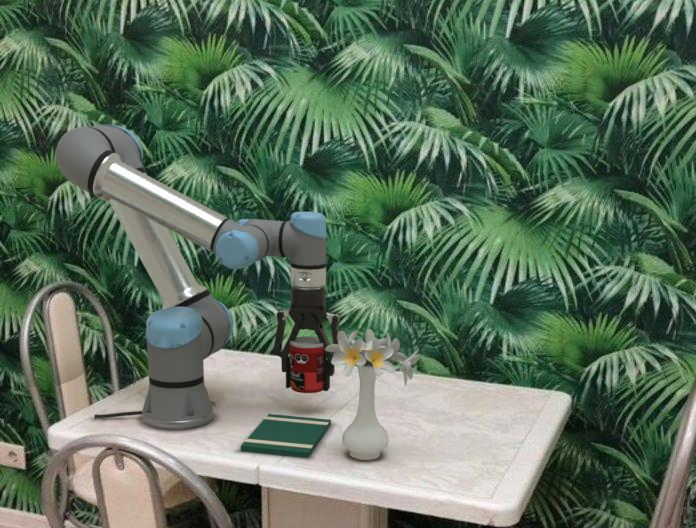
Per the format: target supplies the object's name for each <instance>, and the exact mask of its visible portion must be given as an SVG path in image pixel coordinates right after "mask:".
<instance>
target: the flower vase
mask: <svg viewBox="0 0 696 528" xmlns="http://www.w3.org/2000/svg"><path fill="white" fill-rule="evenodd" d="M358 333H359V331H358V330H354V331H352V332H351V333H350V335H349V336H348V337H347V334H346V332H345V331H343V330H340V332H339V333H338V335H337V341H338V344H339V345H338V344H333V343H332V344H330V345H329V346H327V347H326V348H325V351H328V352H334V355H333V357H332V360H331V363H332V364H333V365H335V366H343V365H344V367H343V375H344V376H345V377H346V378H348V377H350V376H351V375H352V373H353V371H354V368H355V366H356V368H357V372H358V377H359V393H358V394H359V396H358V406H357V411H356V415H355V417H354V419H353V421H352V422H351V424H349V425H348V426H347V427H346V429H345V430H344V431H343V433H342V435H341V443H342V444H343V446H344V448H345V449H346V450H348V451H349V455H350V457H351V458H352V459H355V460H360V461H372V460H376V459H378V458H380V456H381V452H383V451H384V450H385V449H386V448H387V446H388V445H389V443H390V439H389V438H390V437H389V434H388V432H387V430H386V429H385V428H384V426H382V424H381V423H380V422H379V419H378V416H377V414H376V413H377V412H376V404H375V401H376V400H375V397H376V396H375V394H376V392H375V391H376V389H375V387H376V380H377V377H380V376H381V375H382V372H383V370H385V371H386V372H387V373H390V374H395V372H396V368H395V366H394V365H393V364H392V363H391V362H393V363H397V364H400V366H401V369H402V373H403V381H404V387H406V386H407V383H408V378H409V380H412V379H413V377H414V368H413V367H412V366H414V365H415V364H417V362H418V361H419V359H420V358H421V353H418V352H419V348H417V349H416V350H415V351H414V352H412V354H411V355H410V356H408V357H407V356H406V355H405V354H404V353H402V352H400V351H399V350H400V347H401V344H400V340H399V339H398V338H397V337H394V339H393V340H392V339H391V337H390V335H389V333H388V332H387V331H386V332H385V337H383V338H380V339H378V338H376V336H375V333H374V331H373V330H372V329H371V328H367V329H366V330H365V333H364V334H365V335H364V340H365V341H363V339H362V338H358V339H356V338H357V335H358ZM335 352H336V353H335Z"/></svg>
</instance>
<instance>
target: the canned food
mask: <svg viewBox="0 0 696 528" xmlns="http://www.w3.org/2000/svg"><path fill="white" fill-rule="evenodd" d="M289 356H290V386H291V387H290V389H291V390H292V391H293V392H295V393H300V394H316V393H321V392H324V362H325V361H326V360H327V358H326V356H325V353H324V346H323V343H320V341H319V339H318V336H309V335H308V336H307V335H306V336H297V338H296V339H295V340H294V341H290V353H289Z"/></svg>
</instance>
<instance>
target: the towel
mask: <svg viewBox="0 0 696 528" xmlns="http://www.w3.org/2000/svg"><path fill="white" fill-rule="evenodd" d="M331 425H332V420H331V419H330V418H329V419H327V418H318V417H307V416H295V415H288V414H287V415H286V414H285V415H284V414H273V413H268V414H267V415H266V416H265V417H264V418H263V420H262V421H261V422H260V423H259V424H258V425H257V427H256V428H255V429H254V430H253V431H252V432H251V433H250V435H248V437H247V438H245V439H244V440H243V443H242V444H241V445H240V452H247V453H256V454H267V455H276V456H285V457H296V458H306V459H309V458H310V456H311V455H312V453H313V452H314V451H315V450H316V447H318V445H319V443H320V441H321V440H322V439H323V437H324V435H325V434H326V433H327V431H328V430H329V428H330V426H331Z"/></svg>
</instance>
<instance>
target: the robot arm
mask: <svg viewBox="0 0 696 528" xmlns="http://www.w3.org/2000/svg"><path fill="white" fill-rule="evenodd" d="M55 160H56V164H57V167H58V170H59V171H60V172H61V174H62V176H63V177H64V178H65V179H66V180H67V181H69V182H70V183H71V184H73V185H74V186H76V187H78V188H80V189H81V190H82V191H85V192H86V193H88V194H91V195H92V196H95V197H97V198H98V199H99V200H101V201H105V202H108V203H109V205H110V206H111V208H112V210H113V212H114V214H115V215H116V217H117V219H118V221H119V223H120V225H121V226H122V228H123V231H125V233H126V235H127V238H128V239H129V241H130V243H131V244H132V246H133V249H134V250H135V252H136V254H137V256H138V257H139V259H140V261H141V263H142V265H143V266H144V268H145V270H146V272H147V274H148V275H149V277H150V279H151V281H152V283H153V285H154V287H155V289H156V290H157V292H158V294H159V296H160V298H161V299H162V302H163V303H162V308H160V309H158V310H155V311H154V312H151V314H149V316H148V317H147V319H146V322H145V324H146V325H145V326H146V328H145V339H146V351H147V353H146V354H147V365H148V366H147V369H148V389H147V391H146V392H147V393H146V396H145V399H144V402H143V406H142V410H137V411H136V410H135V411H126V412H125V411H124V412H116V413H115V412H114V413H106V414H105V413H104V414H94V416H93V417H94V419H110V418H117V417H118V418H119V417H128V416H129V417H130V416H138V415H141V416H142V418H141V419H142V422H143V423H144V424H146V425H148V426H149V427H153V428H155V429H161V430H176V431H177V430H188V429H195V428H199V427H202V426H205V425H207V424H210V422H212V421H213V420H214V417H215V415H214V414H215V413H214V407H216V401H214V400H211V399H210V395H209V393H208V390H207V388H206V385H205V369H204V360H206V359H208V358H209V357H210V356H212V355H214V354H215V353H217V352H219V351H221V350H222V349H223V347H224V346H225V345H226V344H227V343H228V342H229V341H230V339H231V337H232V334H233V330H234V329H233V328H234V321H233V318H232V314H231V312H230V310H229V309H228V308H227V306H226V304H224V303H223V302H221V301H218V300H216V299H214V297H213V295H212V294H211V291H210V290H209V288H208V287H207V286H204V285H201V284H199V283H198V282H197V279H196V278H195V275H194V274H193V272H192V270H191V269H190V266H189V265H188V263H187V261H186V259H185V258H184V256H183V254H182V251H181V250H180V248H179V246H178V244H177V242H176V241H175V238H174V236H173V235H172V233H171V232H173V233H175V234H177V235H179V236H181V237H183V238H185V239H187V240H188V241H190V242H192V243H194V244H196V245H197V246H200V247H201V248H204V249H205V250H207V251H210V252H211V253H213V254H215V255H216V257H217V259H218V260H219V262H220V264H222V265H223V266H224V267H226V268H228V269H230V270H239V269H245V268H248V267H251V266H252V265H253V264H254V263H256V262H259V261H260V260H263V259H264V258H267V257H275V258H290V285H291V286H292V287H291V288H290V307H289V309H287V310H284V309H280V310H279V311H277V312H276V320H277V325H276V332H275V338H274V339H275V340H274V344H273V350H272V355H274V356H277V357H279V358H280V361H281V372H282V373H285V388H286V389H291V386H290V341H294V340H295V339H296V338H297V337H298V335H299V333H300V331H301V330H309V331H314V333H315V335H316V337H318V339H319V341H320V343H323V346H324V353H325V356H326V361H325V362H324V390H323V392H328V391H329V390H330V388H331V377H333V376H334V374H335V369H336V365H333V364H332V363H331V360H332V357H333V355H334V354H335V353H336V352H328V351H325V348H326V347H327V346H329V345H331V343H330V341H329V338H328V335H327V333H326V331H325V326H324V324H323V323H324V322H325V320H326V319H327V320H328V323H329V324H330V331H331V337H332V344H338V341H337V335H338V333H339V332H340V331H341V330H340V325H339V323H340V319H341V315H340V313H331V312H328V310H327V307H326V306H327V289H326V287H325V286H326V285H327V242H328V241H327V240H328V239H327V238H328V234H327V218H326V216H325V215H324V214H323V213H322V212H317V211H295V212H293V213H291V215H290V219H289V220H288V221H287V220H272V219H271V220H270V219H259V218H254V217H253V218H241V219H240V220H238V221H237V222H236V221H235V220H232V219H230V218H228V217H227V216H226V215H223V214H222V213H219V212H218V211H215V210H214V209H213V208H210V207H208V206H207V205H206V206H205V205H204V204H202V203H201V202H198V201H197V200H195V199H193V198H191V197H189V196H187V195H186V194H183V193H181V192H179V191H178V190H177V189H174V188H172V187H170V186H168V185H166V184H164V183H163V182H161V181H159V180H157V179H155V178H153V177H151V176H150V175H148V173H147V172H146V170H145V168H144V165H143V163H144V162H143V160H144V151H143V147H142V144H141V142H140V141H139V139H138V138H137V137H136V135H135V134H134V133H132V131H130V130H128V129H127V128H125V127H123V126H120V125H116V124H115V125H114V124H110V123H108V124H107V123H104V124H98V125H92V126H78V127H74V128H71V129H69V130H68V131H66V132H65V133H64V134H63V135H62V136H61V137H60V139H59V141H58V143H57V145H56V148H55ZM289 317H290V319H291V320H292V321H293V323H294V324H293V327H292V329H291V332H290V334H289V336H288V338H287V341H286V343H285V346H284V348H283V342H284V336H285V331H286V325H287V320H288V319H289ZM338 345H339V344H338Z"/></svg>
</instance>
